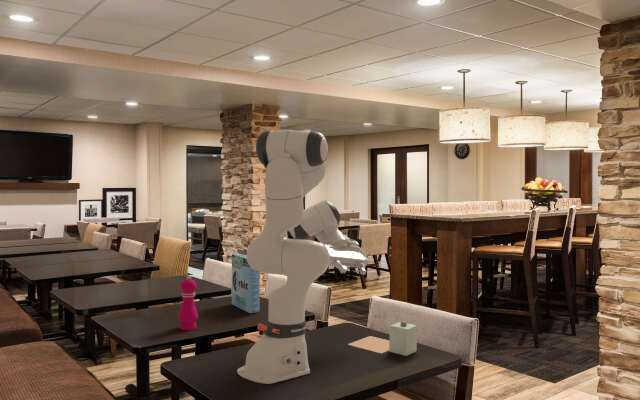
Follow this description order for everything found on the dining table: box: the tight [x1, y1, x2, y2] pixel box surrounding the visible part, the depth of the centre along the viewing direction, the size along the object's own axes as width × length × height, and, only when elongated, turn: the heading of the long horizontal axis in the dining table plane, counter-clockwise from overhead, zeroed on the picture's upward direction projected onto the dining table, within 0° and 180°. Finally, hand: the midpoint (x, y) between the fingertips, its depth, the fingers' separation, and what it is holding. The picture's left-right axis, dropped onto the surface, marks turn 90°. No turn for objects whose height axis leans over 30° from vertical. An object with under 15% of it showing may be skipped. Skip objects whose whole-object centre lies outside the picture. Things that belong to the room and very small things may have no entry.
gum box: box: [231, 252, 261, 314], centre depth 237 cm, size 20×5×23 cm, turn 32°
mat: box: [347, 335, 390, 354], centre depth 189 cm, size 14×14×1 cm
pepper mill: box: [177, 274, 199, 331], centre depth 204 cm, size 7×7×20 cm
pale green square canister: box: [388, 320, 418, 357], centre depth 182 cm, size 7×7×10 cm
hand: (354, 272), depth 187 cm, fingers open, 8 cm apart
